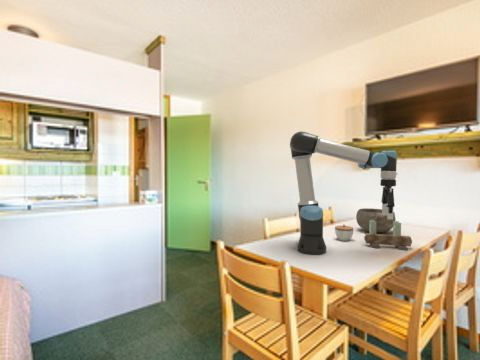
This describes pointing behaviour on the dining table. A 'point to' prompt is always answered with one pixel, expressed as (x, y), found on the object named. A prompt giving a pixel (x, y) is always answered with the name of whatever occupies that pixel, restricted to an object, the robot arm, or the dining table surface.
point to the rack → (395, 227)
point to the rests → (395, 246)
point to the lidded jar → (344, 232)
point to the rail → (388, 239)
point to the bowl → (374, 214)
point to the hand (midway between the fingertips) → (387, 217)
